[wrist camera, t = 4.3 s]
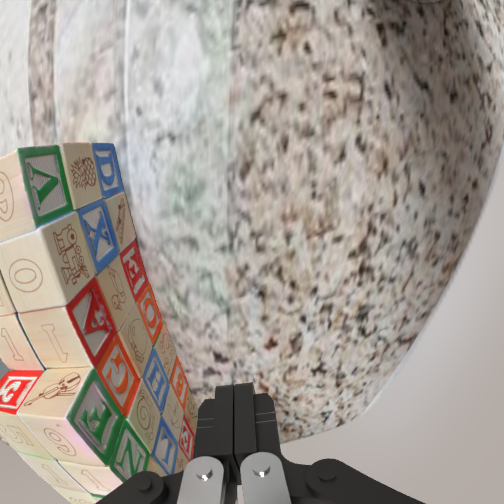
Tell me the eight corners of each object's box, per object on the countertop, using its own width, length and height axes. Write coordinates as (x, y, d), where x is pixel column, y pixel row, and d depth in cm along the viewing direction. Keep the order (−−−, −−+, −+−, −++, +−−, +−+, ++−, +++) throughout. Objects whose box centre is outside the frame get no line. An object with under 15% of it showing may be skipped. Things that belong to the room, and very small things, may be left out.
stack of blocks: (39, 170, 17) (-107, 210, 5) (115, 141, 17) (-39, 148, 5) (134, 413, 24) (100, 529, 12) (201, 410, 24) (187, 541, 12)
